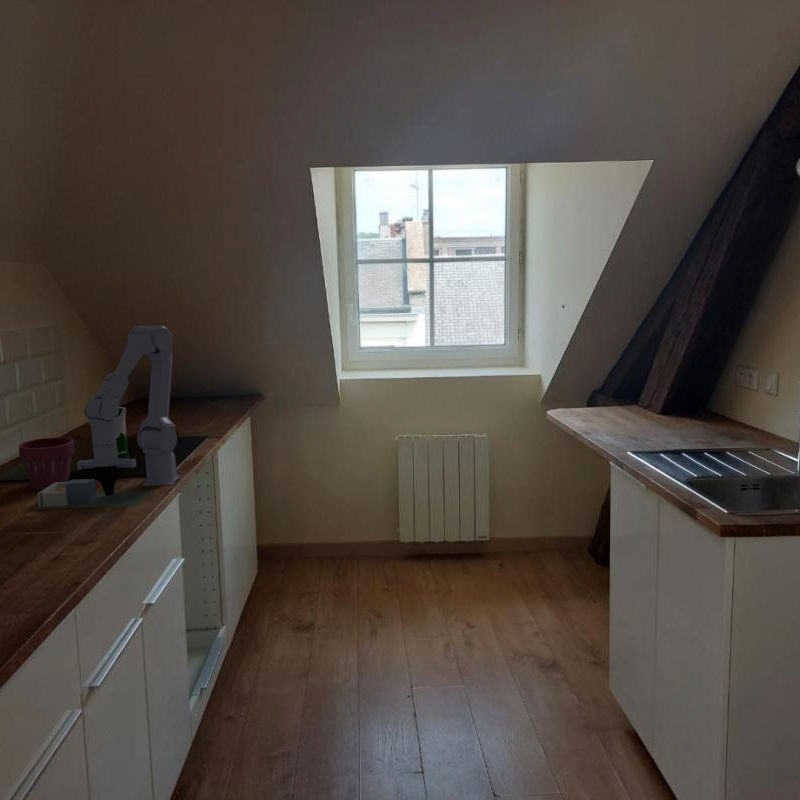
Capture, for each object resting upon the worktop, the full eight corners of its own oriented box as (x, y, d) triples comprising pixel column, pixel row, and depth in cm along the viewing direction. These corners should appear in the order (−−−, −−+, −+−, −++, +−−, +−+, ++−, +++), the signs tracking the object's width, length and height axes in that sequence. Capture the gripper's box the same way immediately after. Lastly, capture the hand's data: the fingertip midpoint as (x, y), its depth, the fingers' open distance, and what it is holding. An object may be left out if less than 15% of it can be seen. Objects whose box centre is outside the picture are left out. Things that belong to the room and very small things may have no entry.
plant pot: (80, 488, 211) (75, 443, 209) (24, 496, 205) (18, 450, 203) (75, 477, 224) (71, 434, 222) (22, 484, 217) (17, 440, 215)
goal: (56, 495, 203) (55, 482, 203) (83, 494, 203) (81, 481, 203) (38, 506, 193) (37, 493, 193) (66, 505, 193) (64, 492, 193)
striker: (73, 498, 200) (71, 479, 199) (96, 497, 200) (94, 478, 199) (67, 502, 196) (65, 483, 195) (90, 501, 196) (88, 483, 195)
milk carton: (109, 470, 231) (103, 405, 227) (92, 466, 236) (85, 403, 233) (134, 464, 238) (128, 401, 235) (116, 460, 243) (111, 399, 240)
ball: (54, 492, 199) (62, 483, 198) (65, 500, 200) (73, 491, 199) (48, 497, 196) (56, 488, 195) (59, 506, 196) (67, 496, 196)
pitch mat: (56, 495, 204) (56, 494, 204) (153, 492, 204) (152, 491, 204) (33, 510, 191) (33, 508, 191) (136, 507, 191) (136, 505, 191)
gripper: (70, 448, 192) (75, 500, 194) (127, 446, 192) (131, 498, 194) (81, 442, 199) (86, 492, 201) (136, 440, 199) (141, 490, 201)
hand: (109, 494), depth 198 cm, fingers closed
